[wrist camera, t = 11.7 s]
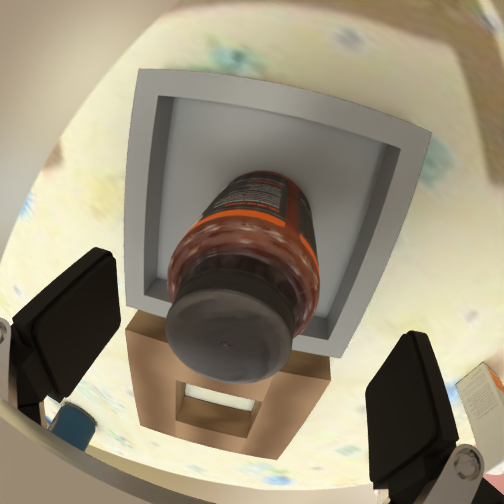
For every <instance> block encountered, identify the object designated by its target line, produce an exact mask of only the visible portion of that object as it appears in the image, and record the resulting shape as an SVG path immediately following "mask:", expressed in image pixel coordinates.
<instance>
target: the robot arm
mask: <svg viewBox="0 0 504 504" xmlns="http://www.w3.org/2000/svg"><path fill="white" fill-rule="evenodd" d="M12 320H13V322H14V323H13V324H12V325H11V326H10V325H9V323H8V322H7V321H6V320H5V319H3V318H0V504H215V503H211V502H208V501H204V500H200V499H197V498H193V497H190V496H186V495H184V494H180V493H177V492H174V491H171V490H168V489H166V488H163V487H160V486H157V485H155V484H152V483H149V482H147V481H144V480H142V479H139V478H137V477H135V476H132V475H130V474H128V473H125V472H123V471H121V470H119V469H117V468H114V467H112V466H110V465H108V464H106V463H104V462H102V461H100V460H98V459H96V458H94V457H92V456H90V455H89V454H87V453H85V452H83V451H81V450H79V449H78V448H76V447H74V446H72V445H71V444H69V443H67V442H66V441H64V440H62V439H61V438H59V437H57V436H56V435H54V434H53V433H51V432H50V431H48V430H47V425H46V417H45V409H44V399H45V397H46V396H47V395H48V396H49V397H51V398H52V399H54V400H56V401H57V402H59V403H60V402H61V401H62V400H63V398H64V397H65V398H66V397H68V396H70V394H71V393H72V392H73V390H74V389H75V387H76V386H77V385H78V383H79V382H80V380H81V379H82V377H83V376H84V375H85V373H86V372H87V370H88V369H89V368H90V366H91V365H92V364H93V362H94V361H95V359H96V358H97V357H98V355H99V354H100V353H101V351H102V350H103V349H104V347H105V346H106V345H107V343H108V342H109V341H110V339H111V338H112V337H113V335H114V334H115V333H116V331H117V330H118V328H119V326H120V323H121V315H120V306H119V296H118V283H117V269H116V259H115V258H114V257H113V255H112V253H111V252H110V251H107V250H104V249H101V248H98V247H94V248H93V249H91V250H90V251H89V252H87V253H86V254H85V255H84V256H82V257H81V258H80V259H79V260H77V261H76V262H75V263H74V264H73V265H71V266H70V267H69V268H68V269H67V270H65V271H64V272H63V273H62V274H61V275H59V276H58V277H57V278H56V279H55V280H53V281H52V282H51V283H50V284H49V285H48V286H47V287H45V288H44V289H43V290H42V291H41V292H40V293H39V294H38V295H36V296H35V297H34V298H33V299H32V300H31V301H30V302H29V303H28V304H27V305H25V306H24V307H23V308H22V309H21V310H20V311H19V312H18V313H17V314H16V315H15V316H14V317H13V318H12ZM365 398H366V411H367V425H368V443H369V476H370V481H371V482H373V485H374V486H373V489H374V490H381V489H388V497H387V498H386V500H385V501H384V502H383V503H382V504H504V495H503V494H502V493H501V492H499V491H498V490H497V489H496V488H495V487H494V486H492V485H491V484H490V483H489V482H488V481H487V480H486V479H484V478H483V473H484V460H483V457H482V455H481V453H480V452H479V451H478V450H477V449H476V448H475V447H474V446H472V445H469V444H461V445H459V446H456V441H458V440H459V436H458V432H457V428H456V424H455V420H454V416H453V412H452V408H451V405H450V401H449V398H448V394H447V391H446V388H445V385H444V381H443V378H442V375H441V372H440V369H439V366H438V363H437V360H436V357H435V354H434V352H433V349H432V346H431V343H430V341H429V338H428V336H427V334H426V333H422V332H417V331H412V330H411V331H409V332H407V334H403V335H402V336H401V337H400V339H399V341H398V342H397V344H396V345H395V347H394V348H393V350H392V351H391V353H390V354H389V356H388V357H387V359H386V360H385V362H384V363H383V365H382V366H381V368H380V369H379V371H378V372H377V373H376V375H375V376H374V378H373V379H372V380H371V382H370V383H369V384H368V386H367V388H366V392H365Z"/></svg>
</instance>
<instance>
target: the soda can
mask: <svg viewBox="0 0 504 504" xmlns="http://www.w3.org/2000/svg"><path fill="white" fill-rule="evenodd" d="M47 430H48V431H50V432H51V433H53V434H54V435H56V436H57V437H59V438H61V439H62V440H64V441H66V442H67V443H69V444H71V445H72V446H74V447H76V448H78V449H79V450H81V451H83V452H85V450H86V448H87V446H88V444H89V442H90V440H91V438H92V436H93V434H94V433H95V422H94V420H93V419H92V417H91V416H90V415H88V414H87V413H86V412H85V411H83V410H82V409H80V408H79V407H77V406H74V405H72V404H68V405H65V406H63V407H61V408H60V410H59V411H58V413H57V415H56V416H55V418H54V419H53V421H52V423H51V424H50V426H49V428H48V429H47Z"/></svg>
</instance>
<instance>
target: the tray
mask: <svg viewBox="0 0 504 504" xmlns="http://www.w3.org/2000/svg"><path fill="white" fill-rule="evenodd" d="M431 133H432V132H430V131H428V130H425V129H423V128H421V127H418V126H416V125H413V124H411V123H409V122H406V121H404V120H401V119H398V118H396V117H393V116H390V115H388V114H385V113H382V112H379V111H377V110H374V109H371V108H368V107H365V106H362V105H359V104H355V103H352V102H349V101H346V100H342V99H339V98H336V97H332V96H328V95H325V94H321V93H317V92H313V91H309V90H305V89H301V88H297V87H292V86H288V85H283V84H278V83H273V82H268V81H262V80H257V79H251V78H245V77H238V76H231V75H223V74H215V73H206V72H196V71H183V70H167V69H139V70H138V76H137V82H136V88H135V94H134V101H133V108H132V115H131V123H130V132H129V141H128V152H127V165H126V180H125V201H124V272H125V294H126V306H129V307H132V308H135V309H138V310H142V311H145V312H148V313H151V314H154V315H158V316H161V317H164V318H166V316H167V314H168V311H169V309H170V308H171V306H172V303H171V301H170V298H169V293H168V289H167V273H168V266H169V262H170V259H171V257H172V255H173V252H174V251H175V249H176V247H177V245H178V244H179V242H180V241H181V240H182V238H183V237H184V236H185V235H186V233H187V232H188V231H189V229H190V228H191V227H192V226H193V224H194V223H195V222H196V221H197V220H198V218H199V217H200V216H201V215H202V213H203V212H204V211H205V210H206V209H207V207H208V206H209V205H210V204H211V202H212V201H213V200H214V199H215V198H216V196H217V195H218V194H219V193H220V192H221V191H222V190H223V188H224V187H225V186H226V185H227V184H229V183H230V182H231V181H233V180H234V179H235V178H237V177H239V176H241V175H243V174H245V173H249V172H254V171H269V172H274V173H278V174H281V175H283V176H285V177H287V178H288V179H290V180H291V181H292V182H294V183H295V184H296V185H297V186H298V187H299V188H300V189H301V191H302V192H303V193H304V195H305V196H306V198H307V200H308V203H309V206H310V208H311V213H312V218H313V226H314V233H315V240H316V247H317V256H318V263H319V275H320V294H319V301H318V305H317V309H316V311H315V314H314V316H313V318H312V319H311V321H310V322H309V324H308V325H307V327H306V328H305V329H304V330H303V331H302V332H301V333H300V334H299V335H298V336H296V337H295V338H294V339H293V341H292V350H297V351H302V352H307V353H312V354H318V355H323V356H329V357H335V358H341V357H342V355H343V353H344V351H345V349H346V347H347V346H348V344H349V342H350V340H351V338H352V336H353V334H354V332H355V330H356V328H357V327H358V325H359V323H360V321H361V319H362V317H363V315H364V313H365V311H366V309H367V306H368V304H369V302H370V300H371V298H372V296H373V294H374V292H375V289H376V287H377V285H378V283H379V281H380V278H381V276H382V274H383V272H384V269H385V267H386V265H387V262H388V260H389V258H390V255H391V253H392V250H393V248H394V245H395V243H396V240H397V238H398V235H399V233H400V230H401V228H402V225H403V222H404V220H405V217H406V214H407V211H408V208H409V206H410V203H411V200H412V197H413V194H414V191H415V188H416V185H417V182H418V179H419V175H420V172H421V169H422V166H423V162H424V159H425V155H426V152H427V148H428V145H429V141H430V137H431Z"/></svg>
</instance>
